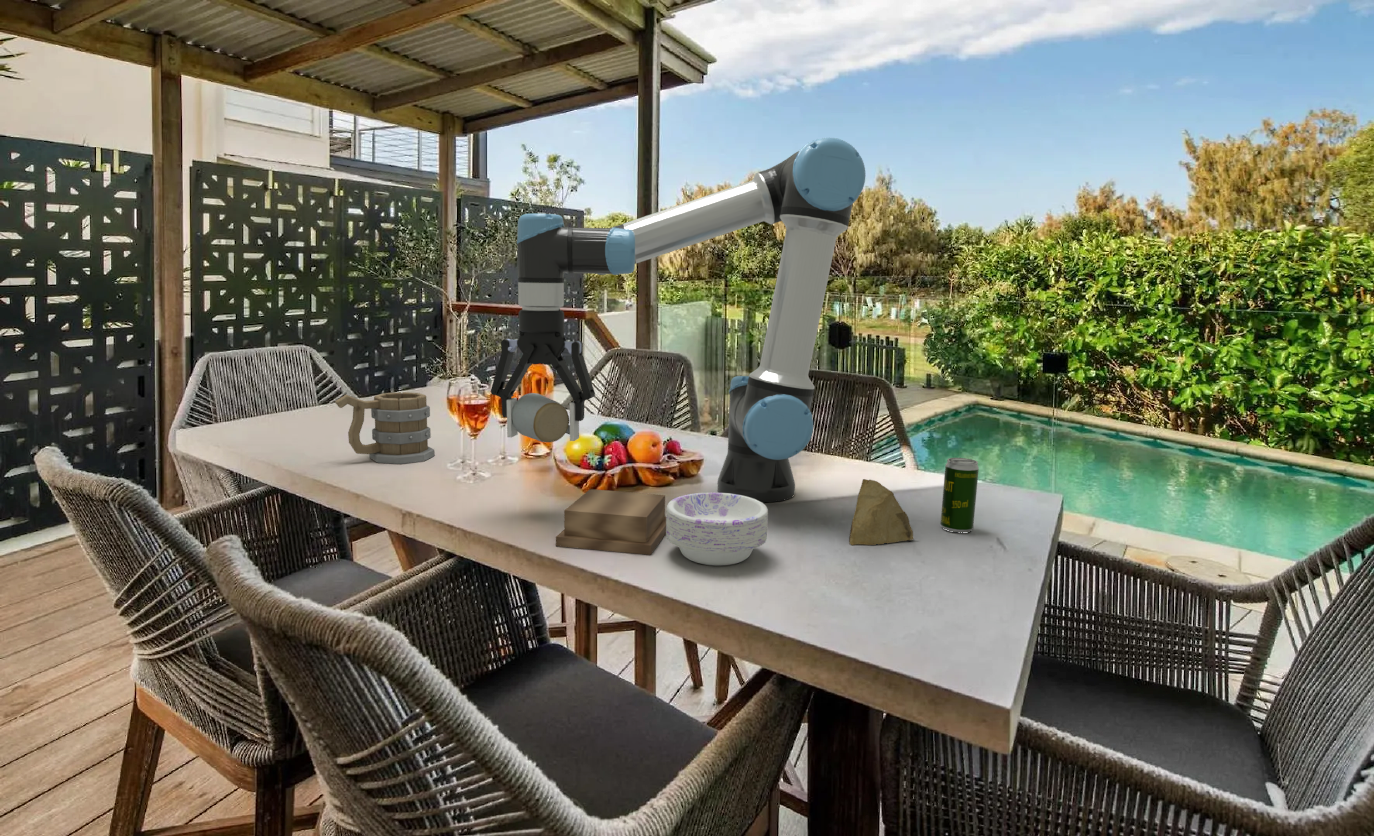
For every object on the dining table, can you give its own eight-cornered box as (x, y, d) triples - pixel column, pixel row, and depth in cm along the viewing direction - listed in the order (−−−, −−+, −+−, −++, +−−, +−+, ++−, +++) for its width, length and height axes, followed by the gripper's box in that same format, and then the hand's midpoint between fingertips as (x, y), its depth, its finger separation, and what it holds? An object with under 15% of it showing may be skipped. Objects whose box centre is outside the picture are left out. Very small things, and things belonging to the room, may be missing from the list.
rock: (918, 520, 135) (859, 505, 138) (925, 489, 129) (863, 473, 132) (905, 573, 128) (843, 556, 131) (912, 543, 122) (846, 526, 125)
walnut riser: (671, 525, 136) (672, 493, 135) (650, 554, 121) (651, 519, 120) (586, 518, 138) (586, 487, 138) (555, 545, 124) (555, 511, 123)
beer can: (964, 524, 141) (970, 457, 139) (978, 534, 136) (985, 464, 134) (935, 524, 141) (940, 457, 138) (947, 534, 135) (954, 464, 133)
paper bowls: (706, 581, 111) (708, 526, 110) (646, 549, 124) (647, 499, 122) (787, 561, 120) (789, 509, 119) (723, 533, 132) (725, 486, 131)
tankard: (420, 449, 188) (418, 385, 186) (440, 459, 178) (439, 392, 176) (329, 459, 176) (326, 391, 173) (346, 471, 166) (343, 399, 164)
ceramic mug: (534, 446, 133) (534, 400, 132) (510, 438, 139) (510, 394, 138) (588, 440, 140) (589, 396, 139) (563, 432, 146) (564, 390, 145)
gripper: (613, 309, 137) (613, 437, 141) (486, 306, 141) (489, 430, 145) (600, 311, 130) (601, 445, 133) (467, 307, 134) (471, 438, 138)
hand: (543, 437), depth 139 cm, fingers closed on ceramic mug, 11 cm apart
